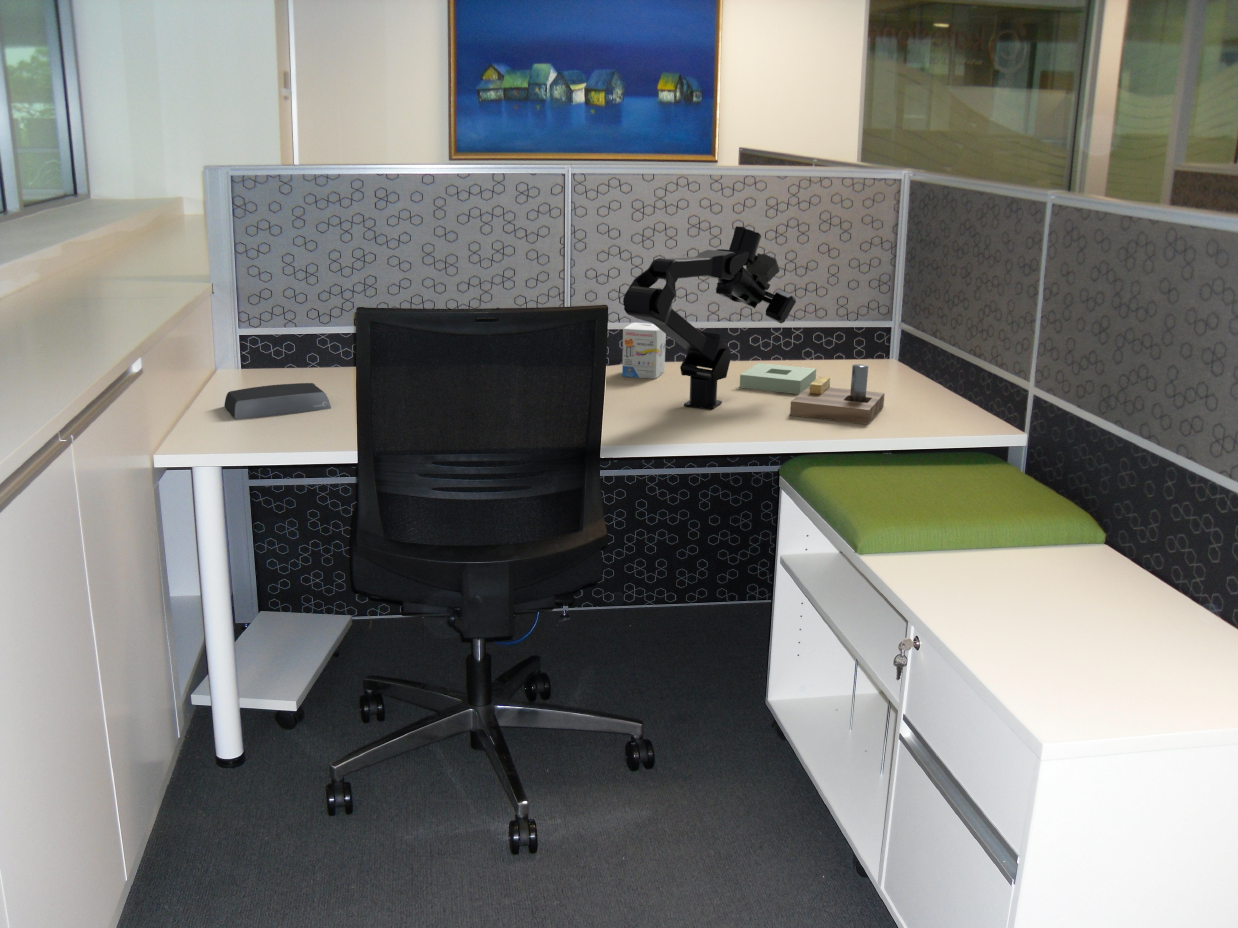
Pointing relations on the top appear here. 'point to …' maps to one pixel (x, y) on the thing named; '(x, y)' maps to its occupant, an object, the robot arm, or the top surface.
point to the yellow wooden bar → (819, 385)
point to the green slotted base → (778, 378)
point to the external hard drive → (275, 400)
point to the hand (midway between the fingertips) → (772, 309)
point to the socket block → (837, 405)
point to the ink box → (643, 351)
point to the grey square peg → (859, 383)
